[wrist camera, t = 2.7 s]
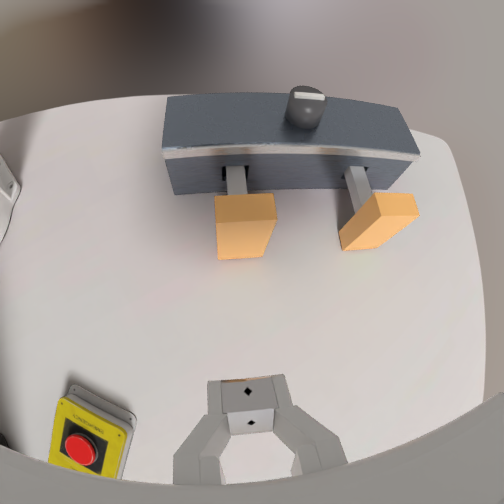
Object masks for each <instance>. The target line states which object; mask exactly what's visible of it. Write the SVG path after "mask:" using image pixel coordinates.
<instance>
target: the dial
mask: <svg viewBox="0 0 504 504" xmlns="http://www.w3.org/2000/svg"><path fill="white" fill-rule="evenodd" d="M326 106H327V98H326V97H325V95H324V94H323V93H322V92H320V91H319V90H317V89H315V88H312V87H309V86H297V87H295V88H293V89H292V90H291V92H290V95H289V99H288V103H287V107H286V111H285V116H286V118H287V120H288V121H289V122H290V123H291V124H293V125H294V126H296V127H299V128H303V129H312V128H315V127H317V126H318V125H319V123H320V121H321V118H322V116H323V113H324V111H325V108H326Z"/></svg>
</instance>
